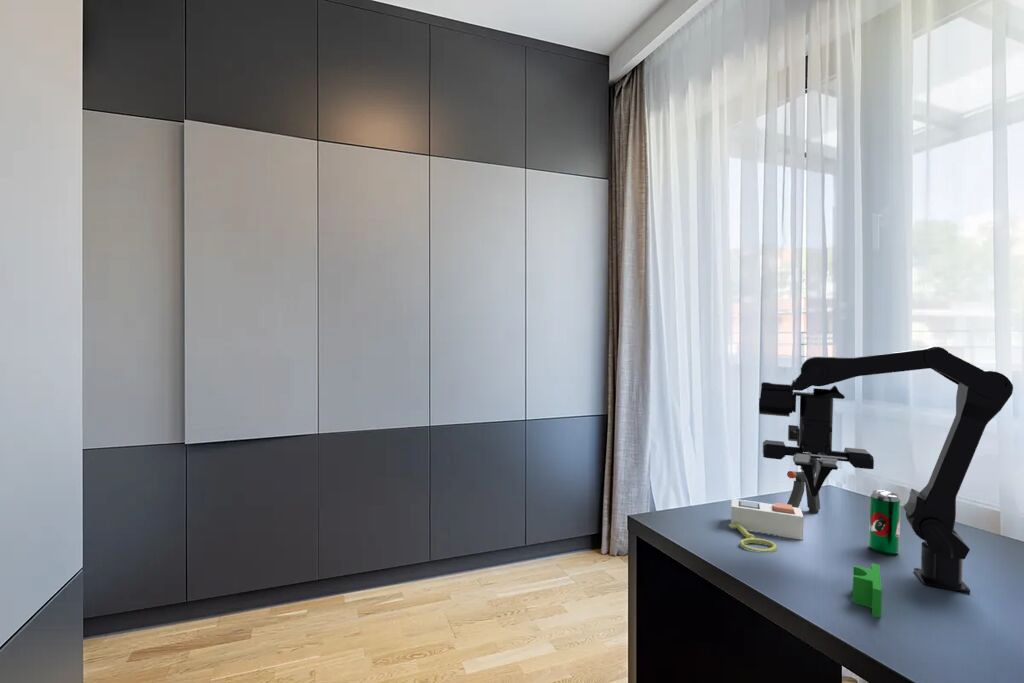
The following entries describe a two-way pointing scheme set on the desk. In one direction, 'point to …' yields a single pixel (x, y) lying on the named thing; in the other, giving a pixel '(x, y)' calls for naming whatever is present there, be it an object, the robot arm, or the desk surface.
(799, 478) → the hand grip strengthener
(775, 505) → the orange button
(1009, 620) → the desk surface
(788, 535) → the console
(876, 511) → the soda can
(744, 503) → the grey button
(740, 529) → the key
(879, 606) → the pipe clamp
